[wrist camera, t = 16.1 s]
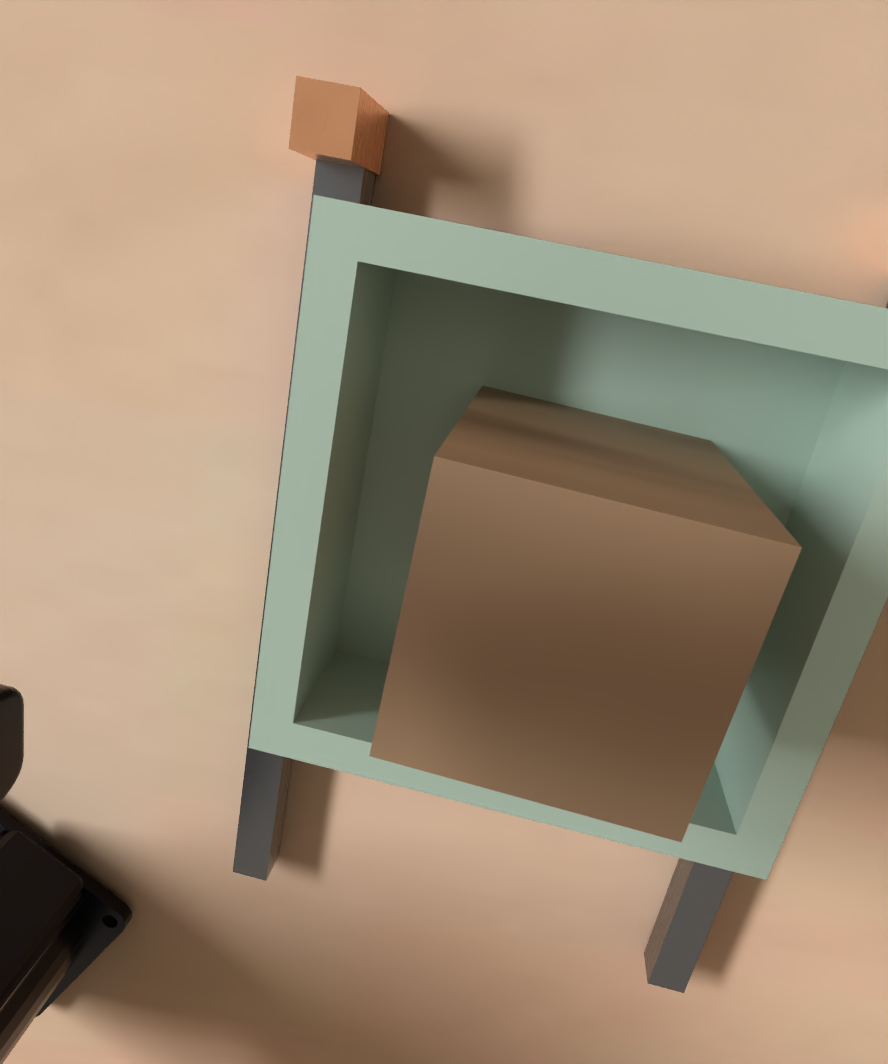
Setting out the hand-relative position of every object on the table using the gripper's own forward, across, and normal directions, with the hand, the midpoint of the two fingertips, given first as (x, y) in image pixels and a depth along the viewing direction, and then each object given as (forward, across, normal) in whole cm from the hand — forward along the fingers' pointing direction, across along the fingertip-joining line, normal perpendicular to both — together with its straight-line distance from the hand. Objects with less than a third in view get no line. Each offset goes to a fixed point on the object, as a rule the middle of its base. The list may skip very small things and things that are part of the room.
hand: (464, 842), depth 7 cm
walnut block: (+9, -1, 0) cm, 9 cm away
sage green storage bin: (+12, -1, 0) cm, 12 cm away
